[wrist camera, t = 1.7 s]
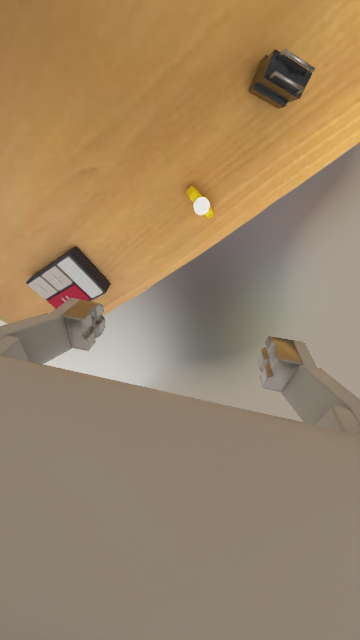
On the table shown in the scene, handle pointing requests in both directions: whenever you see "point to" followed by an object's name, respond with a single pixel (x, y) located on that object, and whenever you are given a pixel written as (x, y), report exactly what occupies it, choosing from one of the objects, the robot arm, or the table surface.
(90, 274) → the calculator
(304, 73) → the clip
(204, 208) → the watch
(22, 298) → the table surface
